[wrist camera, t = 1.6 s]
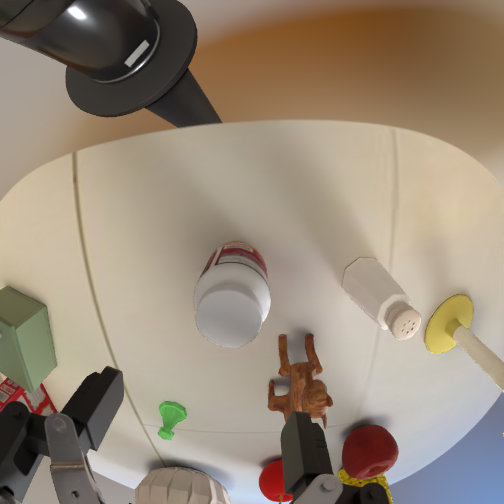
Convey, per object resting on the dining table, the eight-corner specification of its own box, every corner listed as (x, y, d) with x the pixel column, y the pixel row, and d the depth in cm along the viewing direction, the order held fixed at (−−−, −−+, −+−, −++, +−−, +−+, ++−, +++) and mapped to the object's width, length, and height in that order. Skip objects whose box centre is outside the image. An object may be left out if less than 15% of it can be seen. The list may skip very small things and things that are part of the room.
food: (373, 444, 40) (373, 461, 43) (322, 471, 39) (328, 484, 42) (410, 492, 26) (403, 502, 29) (352, 525, 24) (353, 530, 27)
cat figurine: (309, 416, 35) (322, 489, 22) (265, 418, 35) (268, 494, 22) (325, 316, 30) (362, 399, 17) (268, 318, 30) (276, 408, 17)
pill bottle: (229, 305, 30) (218, 368, 19) (196, 261, 29) (165, 307, 18) (277, 277, 29) (289, 332, 18) (245, 229, 28) (239, 261, 17)
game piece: (189, 407, 35) (182, 437, 29) (183, 421, 36) (176, 449, 30) (162, 397, 34) (151, 426, 29) (157, 412, 35) (147, 439, 30)
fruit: (267, 450, 38) (269, 496, 28) (314, 454, 38) (321, 496, 29) (252, 471, 40) (251, 511, 30) (294, 474, 41) (298, 512, 31)
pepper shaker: (391, 268, 29) (444, 309, 18) (367, 307, 30) (408, 360, 19) (357, 247, 28) (406, 285, 17) (331, 289, 29) (366, 344, 19)
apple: (336, 450, 38) (346, 491, 29) (335, 424, 36) (348, 471, 26) (383, 436, 38) (398, 474, 28) (389, 407, 35) (409, 450, 25)
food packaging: (20, 364, 35) (-44, 435, 11) (35, 370, 35) (-31, 450, 11) (46, 413, 39) (0, 482, 15) (62, 420, 39) (16, 495, 15)
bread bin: (7, 285, 30) (-23, 303, 23) (46, 305, 31) (15, 329, 23) (18, 342, 34) (-5, 363, 26) (57, 364, 34) (34, 391, 27)
